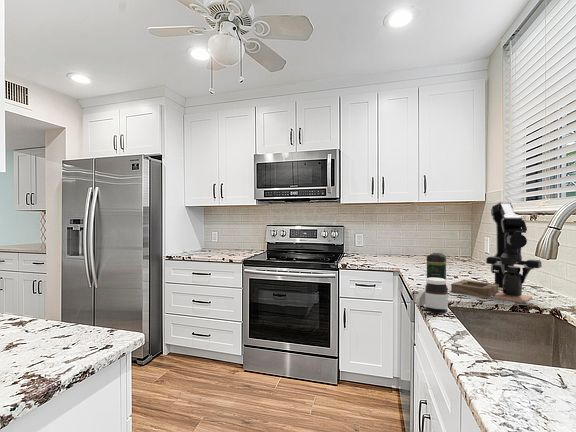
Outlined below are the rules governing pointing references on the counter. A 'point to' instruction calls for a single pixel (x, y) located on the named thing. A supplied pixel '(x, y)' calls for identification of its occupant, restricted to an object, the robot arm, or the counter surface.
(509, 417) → the counter surface
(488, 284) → the walnut caddy
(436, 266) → the coffee jar
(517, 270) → the supplement bottle
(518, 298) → the terracotta coaster
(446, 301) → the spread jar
